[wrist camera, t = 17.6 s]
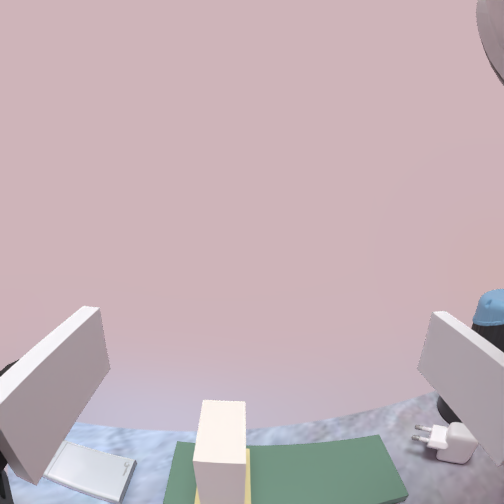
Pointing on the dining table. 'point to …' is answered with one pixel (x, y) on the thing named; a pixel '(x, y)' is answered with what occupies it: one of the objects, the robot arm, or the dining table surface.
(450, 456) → the power adapter
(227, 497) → the block
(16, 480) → the dining table surface
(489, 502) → the dining table surface
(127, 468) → the hard drive
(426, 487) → the dining table surface
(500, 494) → the dining table surface
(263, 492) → the board
